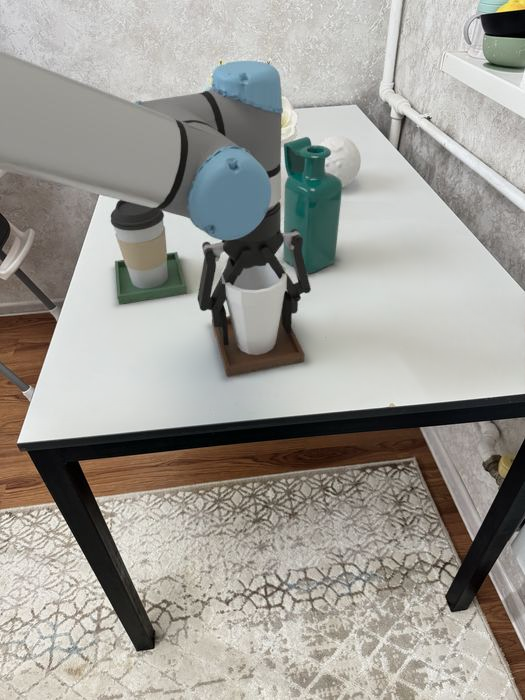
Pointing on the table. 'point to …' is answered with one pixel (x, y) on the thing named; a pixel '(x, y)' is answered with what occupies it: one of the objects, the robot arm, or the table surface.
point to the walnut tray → (242, 362)
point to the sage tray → (134, 294)
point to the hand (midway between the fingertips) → (255, 333)
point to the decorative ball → (342, 158)
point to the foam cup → (256, 307)
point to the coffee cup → (141, 243)
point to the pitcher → (311, 203)
